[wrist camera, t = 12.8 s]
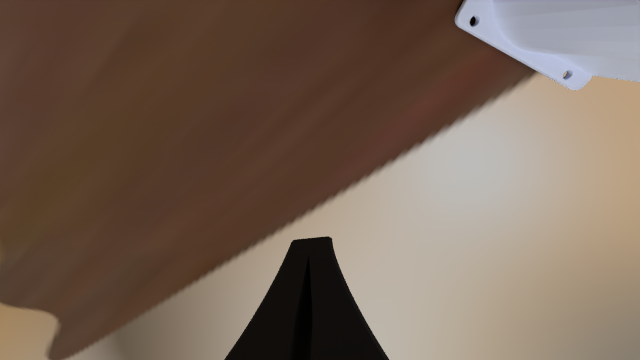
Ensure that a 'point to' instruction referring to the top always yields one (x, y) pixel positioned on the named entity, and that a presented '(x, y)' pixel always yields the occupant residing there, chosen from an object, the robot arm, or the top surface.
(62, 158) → the top surface
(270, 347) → the robot arm
